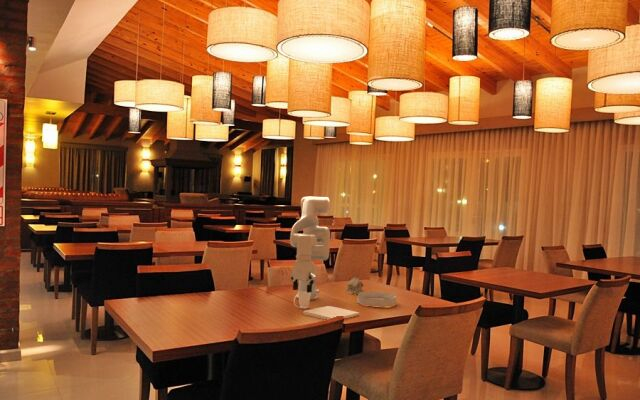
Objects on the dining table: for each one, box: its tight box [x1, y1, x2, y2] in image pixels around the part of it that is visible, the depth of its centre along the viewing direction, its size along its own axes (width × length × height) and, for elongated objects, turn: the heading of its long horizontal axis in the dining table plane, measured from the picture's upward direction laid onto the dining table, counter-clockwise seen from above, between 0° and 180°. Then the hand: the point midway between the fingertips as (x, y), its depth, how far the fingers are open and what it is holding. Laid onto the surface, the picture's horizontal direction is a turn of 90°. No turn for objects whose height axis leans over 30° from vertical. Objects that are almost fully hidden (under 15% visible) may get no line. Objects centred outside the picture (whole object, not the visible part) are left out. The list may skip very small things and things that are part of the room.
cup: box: [293, 291, 311, 310], centre depth 274 cm, size 7×10×8 cm
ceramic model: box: [345, 276, 366, 294], centre depth 324 cm, size 14×11×10 cm
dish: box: [356, 291, 397, 307], centre depth 294 cm, size 22×22×5 cm
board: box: [302, 305, 360, 321], centre depth 261 cm, size 20×20×2 cm
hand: (302, 291), depth 273 cm, fingers open, 9 cm apart
